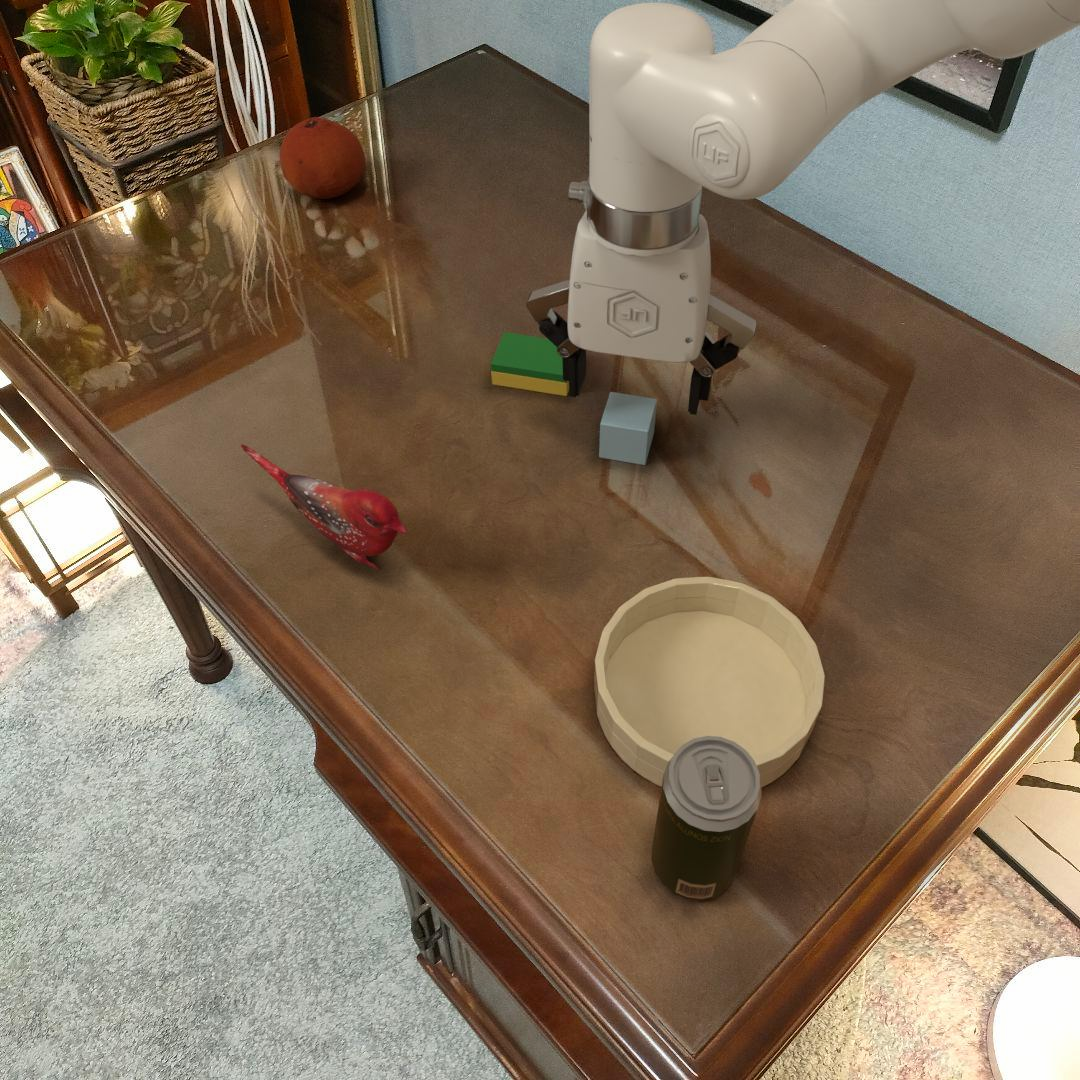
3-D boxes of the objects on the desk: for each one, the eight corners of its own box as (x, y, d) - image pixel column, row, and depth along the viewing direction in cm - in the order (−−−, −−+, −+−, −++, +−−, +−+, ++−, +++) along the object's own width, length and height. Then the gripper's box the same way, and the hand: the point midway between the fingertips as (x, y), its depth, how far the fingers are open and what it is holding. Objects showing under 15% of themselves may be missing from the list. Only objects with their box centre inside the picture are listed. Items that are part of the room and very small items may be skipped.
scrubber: (578, 363, 94) (578, 342, 92) (566, 396, 91) (566, 375, 90) (505, 352, 95) (504, 331, 93) (492, 384, 93) (490, 363, 91)
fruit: (271, 198, 112) (253, 130, 106) (324, 161, 117) (310, 93, 111) (332, 223, 109) (318, 154, 103) (384, 183, 114) (373, 115, 108)
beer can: (743, 902, 63) (773, 820, 53) (656, 907, 63) (671, 827, 53) (728, 819, 66) (754, 729, 57) (645, 824, 66) (658, 735, 57)
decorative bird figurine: (407, 610, 77) (388, 526, 69) (246, 506, 84) (213, 419, 76) (431, 585, 78) (416, 500, 71) (271, 485, 85) (241, 397, 78)
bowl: (821, 631, 75) (832, 599, 72) (802, 821, 66) (813, 794, 63) (618, 592, 78) (620, 559, 75) (573, 769, 68) (573, 741, 65)
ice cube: (654, 432, 88) (657, 398, 85) (645, 465, 86) (648, 431, 83) (608, 425, 89) (610, 391, 86) (598, 457, 87) (600, 423, 84)
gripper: (507, 223, 69) (520, 410, 82) (766, 253, 65) (736, 442, 79) (535, 164, 73) (543, 350, 86) (779, 189, 70) (749, 379, 83)
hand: (635, 394), depth 83 cm, fingers open, 9 cm apart
